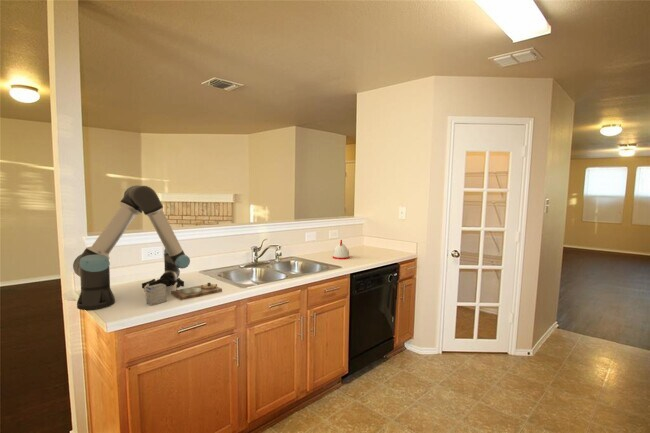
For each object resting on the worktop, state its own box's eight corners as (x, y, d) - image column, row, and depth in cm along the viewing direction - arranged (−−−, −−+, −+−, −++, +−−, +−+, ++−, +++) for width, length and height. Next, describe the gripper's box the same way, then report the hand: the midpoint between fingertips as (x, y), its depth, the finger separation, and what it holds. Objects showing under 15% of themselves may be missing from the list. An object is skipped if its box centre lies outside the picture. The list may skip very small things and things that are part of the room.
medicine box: (161, 300, 175) (161, 283, 175) (166, 301, 173) (166, 284, 172) (146, 304, 169) (145, 286, 168) (151, 306, 166) (150, 288, 166)
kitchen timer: (349, 256, 295) (350, 239, 294) (348, 259, 281) (349, 241, 280) (333, 256, 297) (333, 238, 296) (331, 259, 283) (331, 240, 282)
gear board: (182, 300, 175) (181, 292, 175) (171, 293, 185) (170, 286, 185) (222, 291, 191) (222, 284, 191) (210, 286, 201) (210, 279, 201)
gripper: (192, 283, 198) (186, 294, 177) (144, 286, 192) (132, 297, 171) (192, 270, 197) (186, 280, 177) (143, 272, 191) (132, 282, 171)
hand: (159, 289), depth 174 cm, fingers open, 13 cm apart
